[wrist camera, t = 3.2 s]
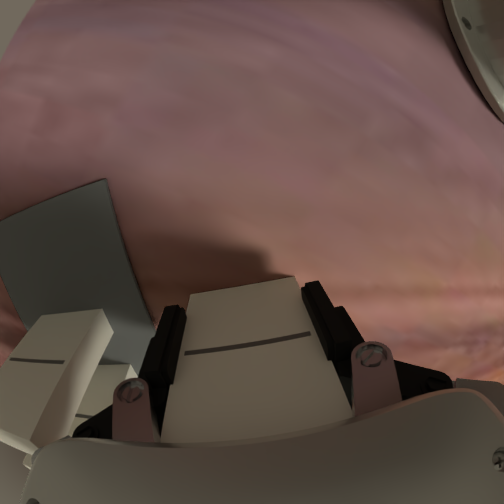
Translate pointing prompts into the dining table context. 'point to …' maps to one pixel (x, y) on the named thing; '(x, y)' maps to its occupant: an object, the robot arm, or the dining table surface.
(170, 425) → the domino
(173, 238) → the dining table surface
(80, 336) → the domino
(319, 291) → the robot arm
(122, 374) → the domino
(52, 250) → the runner mat
